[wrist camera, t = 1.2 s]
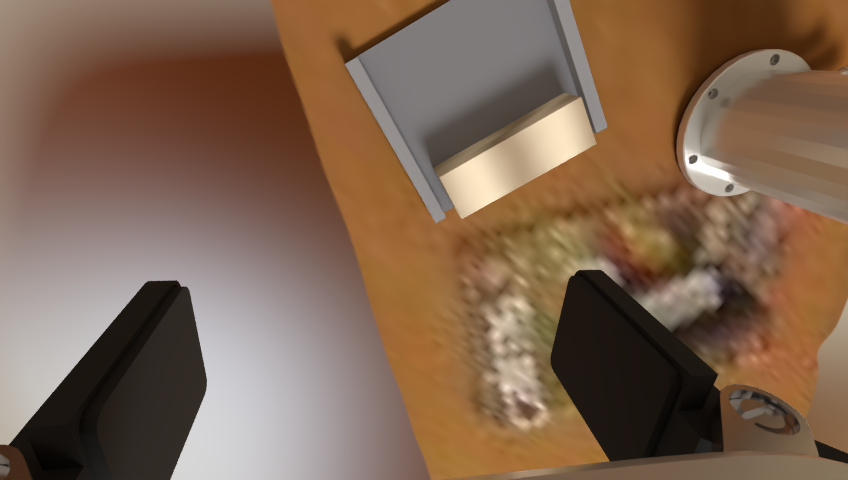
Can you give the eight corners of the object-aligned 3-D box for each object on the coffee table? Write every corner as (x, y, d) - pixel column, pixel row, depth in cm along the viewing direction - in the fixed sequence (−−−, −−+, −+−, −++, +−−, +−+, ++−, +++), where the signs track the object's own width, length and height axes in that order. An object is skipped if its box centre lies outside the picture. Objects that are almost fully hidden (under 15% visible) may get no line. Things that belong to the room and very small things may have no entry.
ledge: (561, 92, 34) (581, 96, 31) (576, 135, 36) (596, 143, 33) (431, 166, 35) (439, 177, 32) (452, 205, 36) (461, 219, 34)
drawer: (541, -55, 29) (550, -60, 28) (597, 123, 36) (607, 127, 34) (345, 63, 30) (344, 64, 29) (432, 216, 37) (436, 223, 35)
